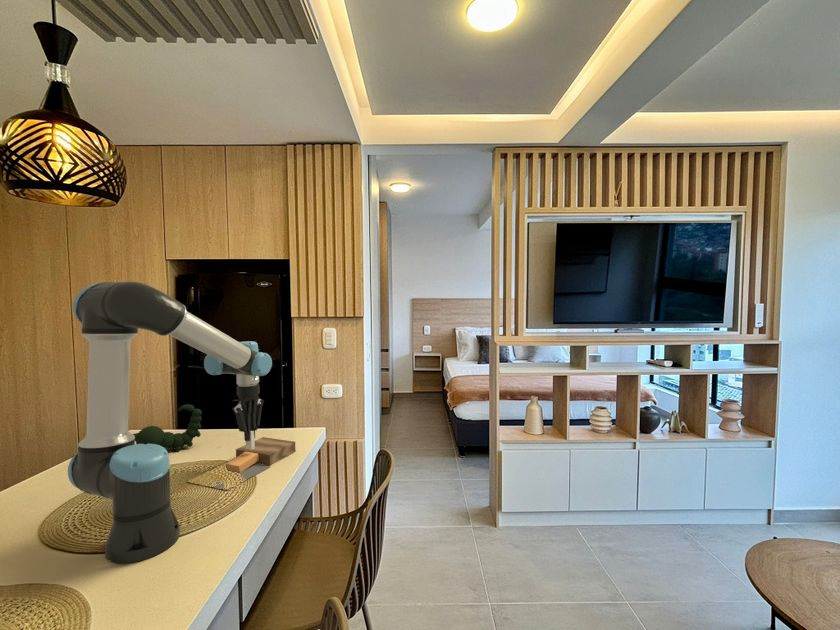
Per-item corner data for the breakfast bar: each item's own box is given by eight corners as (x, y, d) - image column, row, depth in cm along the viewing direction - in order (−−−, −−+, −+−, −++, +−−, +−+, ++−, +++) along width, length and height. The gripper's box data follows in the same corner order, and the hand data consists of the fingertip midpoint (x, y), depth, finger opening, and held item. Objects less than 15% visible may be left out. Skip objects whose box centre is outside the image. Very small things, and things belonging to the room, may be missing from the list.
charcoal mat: (227, 491, 127) (227, 490, 127) (185, 482, 134) (185, 481, 134) (270, 467, 145) (270, 466, 145) (232, 460, 151) (231, 459, 151)
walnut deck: (270, 465, 146) (269, 454, 146) (236, 459, 152) (235, 449, 152) (295, 451, 159) (295, 441, 159) (263, 446, 165) (263, 437, 165)
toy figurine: (198, 446, 172) (125, 454, 157) (201, 401, 172) (128, 405, 158) (200, 452, 164) (124, 462, 150) (203, 406, 164) (127, 410, 150)
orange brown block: (240, 473, 139) (239, 466, 139) (226, 470, 142) (225, 463, 141) (259, 460, 148) (258, 453, 147) (246, 457, 150) (245, 451, 150)
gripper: (242, 388, 139) (244, 456, 140) (269, 381, 151) (271, 443, 152) (225, 387, 142) (228, 453, 143) (253, 380, 154) (255, 441, 155)
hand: (250, 448), depth 148 cm, fingers closed
